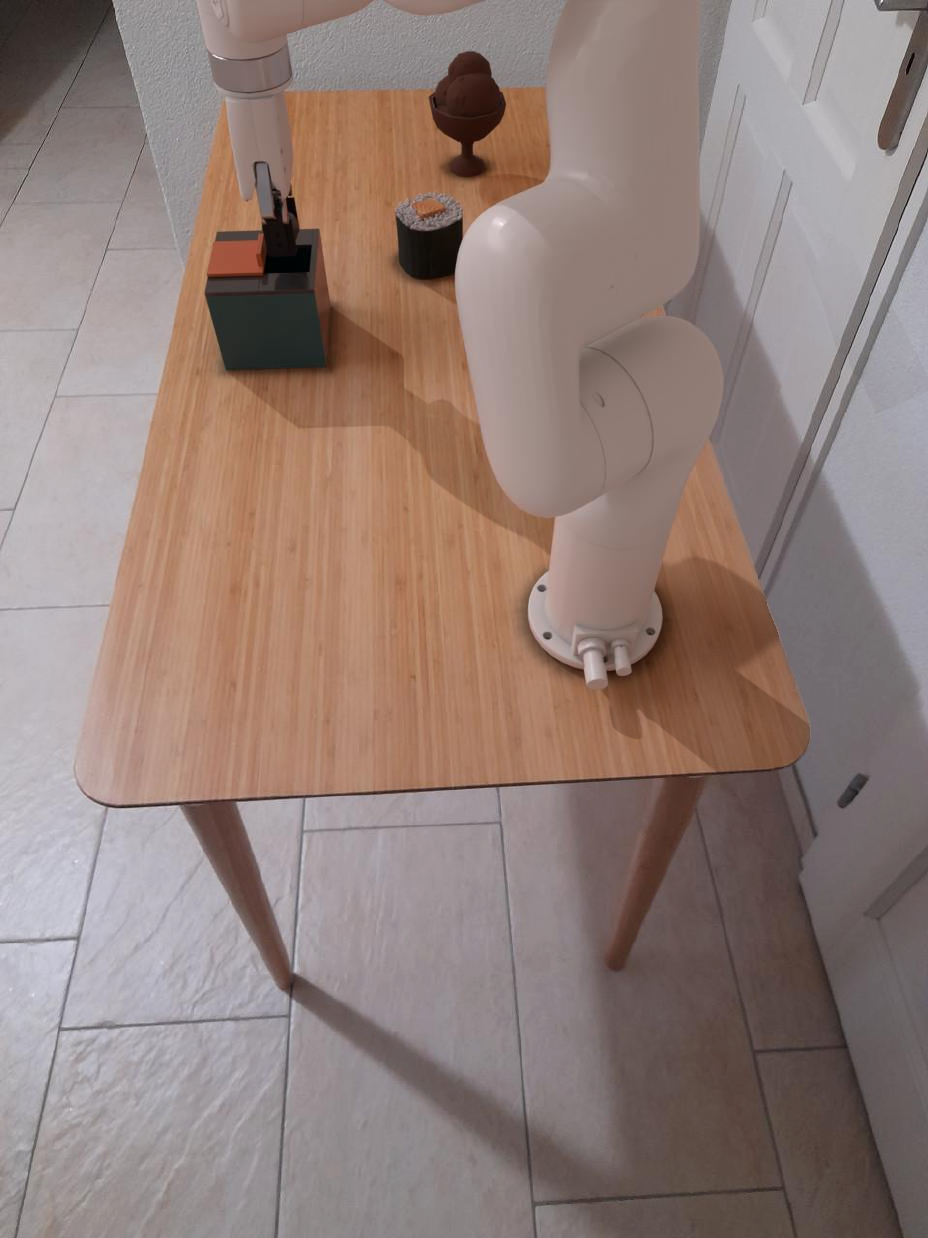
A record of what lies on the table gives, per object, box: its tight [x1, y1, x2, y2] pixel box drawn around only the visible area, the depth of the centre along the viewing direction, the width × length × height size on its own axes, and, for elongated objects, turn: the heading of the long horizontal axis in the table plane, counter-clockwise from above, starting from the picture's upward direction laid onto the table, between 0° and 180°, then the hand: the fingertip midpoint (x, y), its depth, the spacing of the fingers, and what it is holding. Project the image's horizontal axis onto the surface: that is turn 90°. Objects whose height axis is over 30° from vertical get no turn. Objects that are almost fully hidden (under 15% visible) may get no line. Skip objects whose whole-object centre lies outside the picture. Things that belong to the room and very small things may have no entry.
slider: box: [206, 234, 267, 277], centre depth 99 cm, size 6×6×2 cm
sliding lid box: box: [203, 228, 332, 371], centre depth 104 cm, size 12×12×10 cm
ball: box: [261, 208, 300, 241], centre depth 97 cm, size 4×4×4 cm
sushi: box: [393, 191, 464, 281], centre depth 114 cm, size 8×8×8 cm
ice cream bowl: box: [428, 50, 507, 178], centre depth 125 cm, size 11×11×15 cm
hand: (284, 242), depth 98 cm, fingers closed on ball, 3 cm apart
